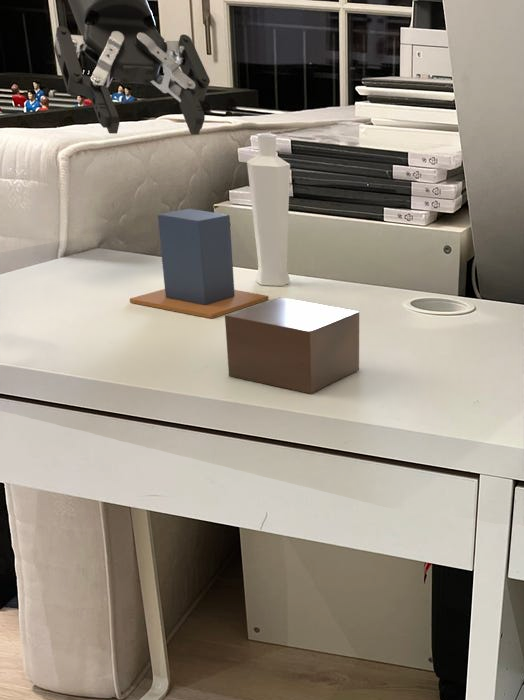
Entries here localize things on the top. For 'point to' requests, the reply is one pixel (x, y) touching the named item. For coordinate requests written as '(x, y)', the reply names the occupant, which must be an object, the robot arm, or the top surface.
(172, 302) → the cork mat
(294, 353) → the base block
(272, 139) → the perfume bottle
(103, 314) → the top surface
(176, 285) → the top block
